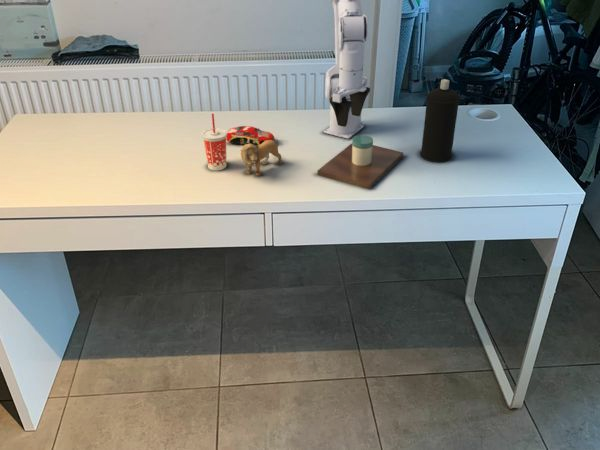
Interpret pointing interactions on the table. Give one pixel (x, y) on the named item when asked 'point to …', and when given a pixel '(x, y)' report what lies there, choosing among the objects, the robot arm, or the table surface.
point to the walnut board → (360, 167)
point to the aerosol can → (440, 123)
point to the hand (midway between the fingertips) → (349, 120)
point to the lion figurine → (259, 154)
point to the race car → (248, 135)
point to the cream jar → (362, 150)
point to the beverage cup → (215, 147)
